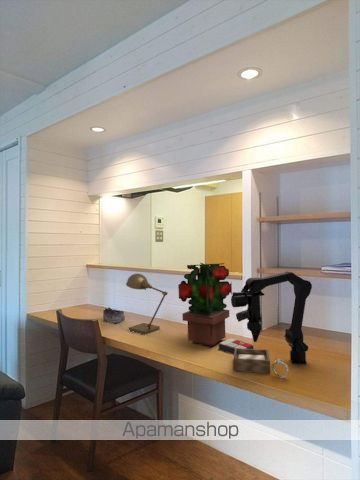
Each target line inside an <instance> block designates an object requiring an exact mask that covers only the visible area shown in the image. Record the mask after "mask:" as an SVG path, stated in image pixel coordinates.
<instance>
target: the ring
mask: <svg viewBox="0 0 360 480" xmlns="http://www.w3.org/2000/svg"><path fill="white" fill-rule="evenodd" d="M276 364H281V365H283V366H284V367H285V370H286V371H285V374H284V375H282V374H278V373H277V371H276V369H275V365H276ZM271 371H272V373H273V374H274V375H275V376H277V377H278V378H279V379H283V378H286V377H287V376H288V375H289V371H290V370H289V366H288V364H287V363H286V362H285V361H284V360H283V359H282V358H278V359H275V360H274V362H273V363H272V365H271Z"/></svg>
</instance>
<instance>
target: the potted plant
mask: <svg viewBox="0 0 360 480" xmlns="http://www.w3.org/2000/svg"><path fill="white" fill-rule="evenodd" d="M224 264H225V263H224V262H223V263H203V262H199V264H187V265H186V268H187V270H191V271H190V273H185V274H184V275H183V278H184V279H185V280H182V281H180V283H179V284H178V299H179V300H181V301H182V302H183V303H184V302H186V301H187V299H189V300H188V301H187V304H189V306H188V308H187V309H188V311H185V312H183V313H182V321H184V322H185V321H186V322H187V340H188V341H190V342H192V344H195V345H199V346H202V347H204V346H205V347H208V348H212V347H213V346H215V345H216V344H219V343H221V342H222V340H223V339H225V338H226V319H228V318H230V310H229V309H226V308H227V307H228V305H227V304H226V303H224V300H225V299H226V298H227V296H229V295H230V294H231V295H233V292H232V291H233V288H232V287H233V286H232V281H227V280H226V279H227V277H229V275H230V269H229V268H226V266H225V265H224ZM197 266H199V267H197ZM186 280H187V281H186Z"/></svg>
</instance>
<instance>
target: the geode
mask: <svg viewBox="0 0 360 480" xmlns="http://www.w3.org/2000/svg"><path fill="white" fill-rule="evenodd" d="M102 313H103V314H102V319H103V320H104V322H107V321H108V323H110V322H112V323H113V324H120V323H121V322H122V321H125V320H126V315H125V312H124V310H118V309H112V308H111V307H108V308H106V307H105V308H104V309H103V312H102ZM112 323H111V324H112Z"/></svg>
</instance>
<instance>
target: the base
mask: <svg viewBox="0 0 360 480" xmlns="http://www.w3.org/2000/svg"><path fill="white" fill-rule="evenodd" d="M270 359H271V358H270V351H269V349H263V348H262V349H261V348H253V349H244V348H235V351H234V354H233V360H232V361H233V371H234V370H236V371H235V372H243V371H251V372H250V373H260V372H261V373H262V374H263V373H265V374H271V360H270Z"/></svg>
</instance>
